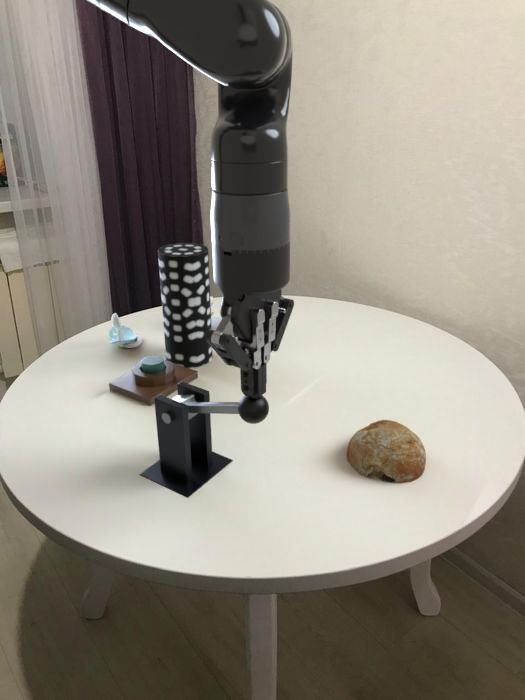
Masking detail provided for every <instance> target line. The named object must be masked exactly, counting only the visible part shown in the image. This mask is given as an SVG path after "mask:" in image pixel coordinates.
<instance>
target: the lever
mask: <svg viewBox="0 0 525 700" xmlns="http://www.w3.org/2000/svg"><path fill="white" fill-rule="evenodd" d="M171 399H173V400H175V401H178V402H181V403H183V404H186V405H188V418H189V419H191V418H192V417H194V416H195V415H197V414H198V413H210V414H215V415H216V414H217V415H219V414H223V415H239V417H240V418H241V419H242V421H244V422H246V423H248V424H250V425H254V424H255V425H256V424H260V423H261V422H263V421H264V420H265V419H266V418H267V417H268V415H269V413H270V412H269V411H270V404H269V402H268V401H269V400H267V398H266V397H265V396H264V394H263V395H262V396H260V397H259V398H257V399H254V398H251V397H248V396H246V395H243V396H242V397H241V398H240V400H239V401H210V402H196V399H195V396H194V395H178V394H176V396H173V398H171Z"/></svg>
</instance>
